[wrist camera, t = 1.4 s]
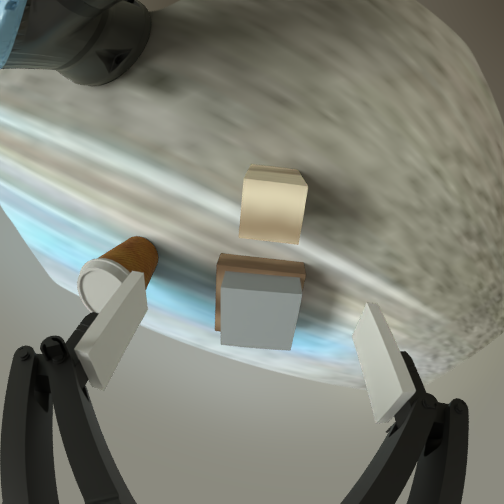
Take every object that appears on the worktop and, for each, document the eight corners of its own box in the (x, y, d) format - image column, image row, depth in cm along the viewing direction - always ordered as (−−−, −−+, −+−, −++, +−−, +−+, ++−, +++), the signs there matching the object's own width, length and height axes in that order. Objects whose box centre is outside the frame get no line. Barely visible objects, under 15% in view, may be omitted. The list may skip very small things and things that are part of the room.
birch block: (250, 164, 34) (243, 178, 25) (297, 169, 34) (308, 186, 25) (246, 208, 36) (238, 237, 27) (291, 213, 36) (298, 244, 27)
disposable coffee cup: (106, 255, 41) (67, 294, 30) (131, 213, 38) (87, 248, 27) (149, 290, 43) (120, 338, 33) (179, 254, 40) (150, 301, 29)
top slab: (225, 271, 37) (220, 287, 33) (299, 277, 37) (302, 294, 33) (224, 326, 41) (220, 344, 38) (289, 332, 41) (290, 350, 37)
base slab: (221, 251, 40) (216, 264, 36) (303, 260, 40) (306, 274, 36) (219, 315, 45) (215, 330, 42) (289, 322, 45) (290, 338, 42)
